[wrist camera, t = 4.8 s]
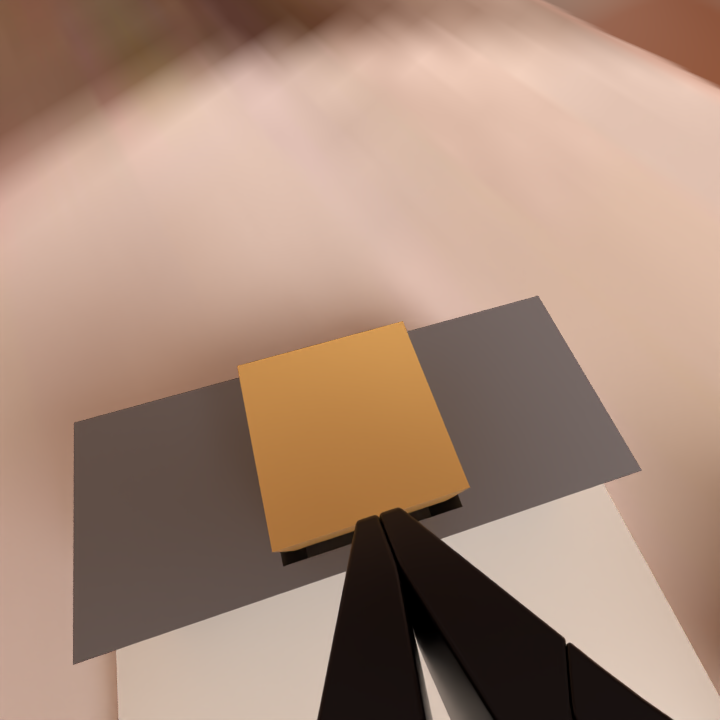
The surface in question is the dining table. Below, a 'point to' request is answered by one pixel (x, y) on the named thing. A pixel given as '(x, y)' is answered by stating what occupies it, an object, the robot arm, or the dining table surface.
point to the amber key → (345, 436)
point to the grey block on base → (330, 558)
